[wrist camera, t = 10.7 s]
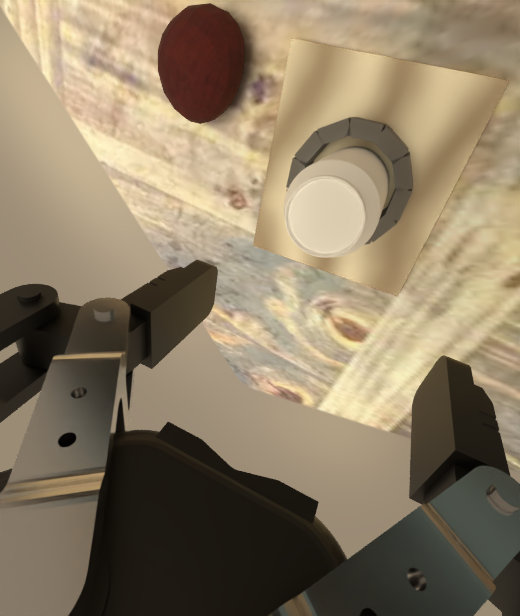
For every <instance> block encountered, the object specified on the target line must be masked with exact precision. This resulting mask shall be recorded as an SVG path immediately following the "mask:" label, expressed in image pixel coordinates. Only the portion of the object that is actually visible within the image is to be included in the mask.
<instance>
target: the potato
mask: <svg viewBox="0 0 520 616" xmlns="http://www.w3.org/2000/svg"><path fill="white" fill-rule="evenodd" d="M244 58H245V50H244V39H243V36H242V33H241V30H240V28H239V26H238V24H237V22H236V21H235V20H234V19H233V17H232V16H231V15H230V14H229V12H227V11H224V10H222V9H220V8H218V7H216V6H214V5H212V4H211V3H210V4H201V5H192V6H188V7H186V8H185V9H184V10H182V11H181V12H180V13H179V14H178V15H177V16H176V17H174V18H173V19H172V20H171V21H170V23H169V24H168V26H167V28H166V29H165V31H164V33H163V34H162V38H161V41H160V45H159V49H158V72H159V76H160V80H161V83H162V87H163V91H164V93H165V95H166V96H167V98H168V99H169V101H170V103H171V104H172V106H173V107H174V109H175V110H177V111H178V112H179V113H180V114H181V115H182V116H184V117H185V118H186V119H188V120H189V121H191V122H195V123H200V124H201V123H205V122H209V121H212V120H214V119H216V118H217V117H218V116H220V115H221V114H222V113H223V112H224V111H225V110H226V109H227V108H228V107H229V105H230V104H231V103H232V101H233V99H234V97H235V95H236V93H237V91H238V89H239V86H240V82H241V79H242V74H243V69H244Z"/></svg>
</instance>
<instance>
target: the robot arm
mask: <svg viewBox="0 0 520 616" xmlns="http://www.w3.org/2000/svg"><path fill="white" fill-rule="evenodd" d="M217 274H218V270H217V267H215V266H213V265H210V264H208V263H205V262H203V261H200V260H196V261H194V262H193V263H191V264H189V265H188V266H186V267H185V268H182V267H179V268H175V269H172V270H168V271H166V272H164V273H163V274H161V275H160V276H158V278H155V279H153V280H152V281H150V283H147V284H145V285H143V286H142V287H140V288H139V289H137V290H136V291H134V292H133V293H131V294H129V295H127V296H126V297H124V298H123V299H121V300H120V299H116V298H98V299H95V300H92V301H89V302H87V303H85V304H84V305H83V306H77V305H71V304H66V303H61V302H59V298H58V293H57V291H56V290H55V289H54V288H53V287H51V286H48V285H43V284H28V285H22V286H19V287H15V288H13V289H10V290H9V291H6V292H4V293H2V294H0V351H1V350H3V349H4V348H6V347H8V346H9V345H11V344H12V343H14V342H16V345H17V348H18V351H19V352H17V353H16V354H14V355H13V356H11V357H10V358H9V359H7V360H5V361H4V362H2V363H0V422H2V421H3V420H4V419H6V418H7V417H8V416H9V415H11V414H12V413H13V412H14V411H16V410H17V409H18V408H19V407H21V406H22V405H23V404H24V403H26V402H27V401H28V400H29V399H31V398H32V397H33V396H34V395H36V394H37V393H38V392H40V391H41V392H40V395H39V397H38V400H37V403H36V406H35V409H34V411H33V414H32V417H31V419H30V422H29V425H28V428H27V430H26V433H25V436H24V439H23V442H22V444H21V447H20V450H19V453H18V455H17V458H16V461H15V464H14V466H13V468H12V469H9V470H6V471H3V472H0V616H474V615H475V614H476V612H477V611H478V610H479V609H480V608H481V606H482V605H483V604H484V603H485V602H486V601H487V600H489V601H490V602H492V604H494V605H495V606H496V607H497V608H498V609H499V610H501V612H502V616H520V484H519V483H518V482H517V481H516V480H515V479H513V478H512V477H511V476H510V473H509V468H508V464H507V460H506V456H505V452H504V448H503V444H502V440H501V436H500V433H499V432H498V431H499V427H498V423H497V421H496V420H495V419H496V415H495V411H494V407H493V403H492V402H491V400H490V399H489V397H488V396H487V394H486V393H485V391H484V390H483V388H481V387H479V386H476V385H474V382H473V377H472V371H471V367H470V366H469V365H467V364H465V363H462V362H460V361H457V360H454V359H452V358H449V357H447V356H441V357H440V358H439V359H438V361H437V362H436V363H435V365H434V366H433V368H432V369H431V371H430V372H429V373H428V375H427V376H426V378H425V379H424V381H423V382H422V383H421V385H420V386H419V388H418V390H417V392H416V394H415V396H414V400H413V404H412V430H411V461H410V492H409V493H410V494H409V495H410V496H409V498H410V499H412V500H414V501H416V502H418V503H420V504H422V505H421V506H419V507H418V508H417V509H415V510H414V511H412V512H411V513H410V514H408V515H407V516H406V517H404V518H403V519H402V520H400V521H399V522H398V523H396V524H395V525H393V526H392V527H391V528H389V529H388V530H387V531H385V532H384V533H383V534H381V535H380V536H379V537H377V538H376V539H374V540H373V541H372V542H370V543H369V544H368V545H366V546H365V547H364V548H362V549H361V550H360V551H358V552H357V553H355V554H354V555H353V556H351V557H350V558H349V559H347V558H346V556H345V554H344V552H343V551H342V549H341V547H340V545H339V544H338V542H337V541H336V539H335V538H334V536H333V535H332V534H331V532H330V531H329V530H328V529H327V528H326V527H325V525H324V524H323V523H322V522H321V521H320V520H319V519H318V518H317V517H316V516H315V514H316V510H317V506H318V501H316V500H314V499H312V498H310V497H308V496H306V495H304V494H303V493H301V492H299V491H297V490H295V489H293V488H291V487H290V486H288V485H285V484H284V483H282V482H280V481H278V480H275V479H270V478H266V477H262V476H258V475H254V474H250V473H246V472H242V471H238V470H235V469H233V468H232V467H230V466H229V465H228V464H227V463H226V462H225V461H224V460H223V459H222V458H221V457H220V456H219V455H218V454H217V453H216V452H215V451H213V450H212V449H211V448H210V447H209V446H208V445H207V444H206V443H205V442H204V441H203V440H201V439H200V438H198V437H196V436H194V435H192V434H190V433H189V432H187V431H185V430H183V429H181V428H179V427H177V426H175V425H174V424H172V423H170V422H167V424H166V425H165V426H164V427H163V428H162V430H161V431H160V432H157V431H151V430H132V431H130V419H131V407H132V395H133V382H134V368H135V367H136V366H138V365H139V364H140V363H141V364H143V365H145V366H147V367H149V368H151V369H152V368H153V367H154V366H156V365H157V364H158V363H159V362H160V361H161V360H162V359H163V358H164V357H165V356H166V355H167V354H168V353H169V352H170V351H171V350H172V349H173V348H174V347H175V346H177V345H178V344H179V343H180V342H181V341H182V340H183V339H184V338H185V337H186V336H187V335H188V334H189V333H190V332H191V331H192V330H194V328H196V327H197V326H198V324H200V323H201V322H202V321H203V320H204V319H205V318H206V317H207V316H208V315H209V313H210V312H211V310H212V308H213V305H214V299H215V291H216V282H217Z"/></svg>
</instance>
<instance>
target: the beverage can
mask: <svg viewBox="0 0 520 616" xmlns="http://www.w3.org/2000/svg"><path fill="white" fill-rule="evenodd" d="M388 189H389V173H388V170H387V167H386V165H385V163H384V161H383V160H382V158H381V157H380V156H379V155H378V154H376V153H375V152H374V151H372V150H370V149H368V148H364V147H359V146H352V147H347V148H343V149H341V150H338V151H336V152H334V153H332V154H330V155H328V156H326V157H325V158H323V159H321V160H319V161H317V162H315V163H313V164H311V165H310V166H308V167H306V168H305V169H303V170H302V171H301V172H300V173H299V174H298V175H297V176H296V177H295V178H294V180H293V181H292V183H291V184H290V186H289V188H288V190H287V193H286V196H285V201H284V218H285V224H286V228H287V231H288V234H289V236H290V238H291V239H292V241H293V242H294V243H295V244H296V245H297V246H298V247H299V248H300V249H301V250H303V251H304V252H306V253H308V254H310V255H313V256H316V257H323V258H328V257H341V256H345V255H348V254H350V253H353V252H354V251H356V250H358V249H359V248H361V247H362V246H363V245H364V244H365V243H366V242H367V241H368V240H369V239H370V238H371V236H372V235H373V233H374V231H375V229H376V227H377V225H378V222H379V219H380V216H381V213H382V209H383V206H384V203H385V200H386V197H387V193H388Z"/></svg>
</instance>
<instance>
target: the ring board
mask: <svg viewBox="0 0 520 616" xmlns="http://www.w3.org/2000/svg"><path fill="white" fill-rule="evenodd" d="M508 82H509V80H504V79H498V78H493V77H488V76H483V75H478V74H473V73H468V72H462V71H457V70H452V69H447V68H442V67H437V66H432V65H427V64H421V63H416V62H411V61H406V60H401V59H396V58H391V57H386V56H380V55H375V54H370V53H365V52H360V51H355V50H350V49H344V48H339V47H334V46H329V45H324V44H319V43H314V42H309V41H303V40H298V39H293V38H292V39H291V44H290V49H289V55H288V60H287V66H286V71H285V76H284V82H283V87H282V93H281V98H280V103H279V109H278V114H277V120H276V125H275V131H274V136H273V141H272V147H271V152H270V158H269V163H268V168H267V174H266V179H265V185H264V190H263V195H262V201H261V206H260V212H259V217H258V223H257V228H256V233H255V239H254V244H253V246H256V247H259V248H261V249H264V250H267V251H270V252H273V253H276V254H278V255H281V256H284V257H287V258H290V259H293V260H295V261H298V262H301V263H304V264H307V265H310V266H312V267H315V268H318V269H321V270H324V271H327V272H329V273H332V274H335V275H338V276H341V277H344V278H346V279H349V280H352V281H355V282H358V283H361V284H364V285H366V286H369V287H372V288H375V289H378V290H381V291H383V292H386V293H389V294H392V295H395V296H398V294H399V292H400V290H401V288H402V287H403V285H404V283H405V281H406V279H407V277H408V275H409V273H410V271H411V269H412V267H413V265H414V263H415V261H416V260H417V258H418V256H419V254H420V252H421V250H422V248H423V246H424V244H425V242H426V240H427V238H428V236H429V235H430V233H431V231H432V229H433V227H434V225H435V223H436V221H437V219H438V217H439V215H440V213H441V211H442V210H443V208H444V206H445V204H446V202H447V200H448V198H449V196H450V194H451V192H452V190H453V188H454V186H455V185H456V183H457V181H458V179H459V177H460V175H461V173H462V171H463V169H464V167H465V165H466V163H467V161H468V159H469V158H470V156H471V154H472V152H473V150H474V148H475V146H476V144H477V142H478V140H479V138H480V136H481V134H482V133H483V131H484V129H485V127H486V125H487V123H488V121H489V119H490V117H491V115H492V113H493V111H494V109H495V108H496V106H497V104H498V102H499V100H500V98H501V96H502V94H503V92H504V90H505V88H506V86H507V84H508ZM352 146H359V147H364V148H368V149H370V150H372V151H374V152H375V153H376V154H378V155H379V156H380V157H381V158H382V160H383V161H384V163H385V165H386V167H387V170H388V173H389V189H388V193H387V197H386V200H385V203H384V206H383V209H382V213H381V216H380V219H379V222H378V225H377V227H376V229H375V231H374V233H373V235H372V236H371V238H370V239H369V240H368V241H367V242H366V243H365V244H364V245H363V246H362V247H361V248H359V249H358V250H356V251H354V252H353V253H350V254H348V255H345V256H341V257H328V258H323V257H316V256H313V255H310V254H308V253H306V252H304V251H303V250H301V249H300V248H299V247H298V246H297V245H296V244H295V243H294V242H293V241H292V239H291V238H290V236H289V234H288V231H287V228H286V224H285V218H284V201H285V196H286V193H287V190H288V188H289V186H290V184H291V183H292V181H293V180H294V178H295V177H296V176H297V175H298V174H299V173H300V172H301V171H302V170H303V169H305V168H306V167H308V166H310V165H311V164H313V163H315V162H317V161H319V160H321V159H323V158H325V157H326V156H328V155H330V154H332V153H334V152H336V151H338V150H341V149H343V148H347V147H352Z"/></svg>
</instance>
